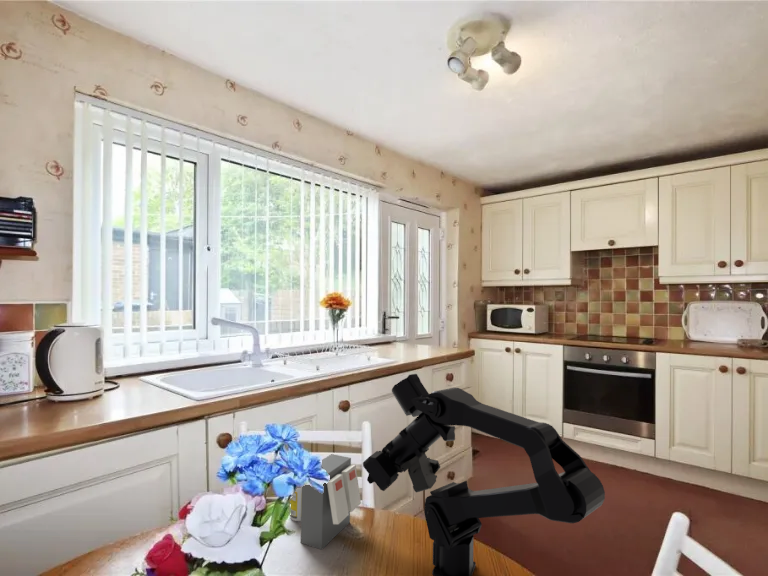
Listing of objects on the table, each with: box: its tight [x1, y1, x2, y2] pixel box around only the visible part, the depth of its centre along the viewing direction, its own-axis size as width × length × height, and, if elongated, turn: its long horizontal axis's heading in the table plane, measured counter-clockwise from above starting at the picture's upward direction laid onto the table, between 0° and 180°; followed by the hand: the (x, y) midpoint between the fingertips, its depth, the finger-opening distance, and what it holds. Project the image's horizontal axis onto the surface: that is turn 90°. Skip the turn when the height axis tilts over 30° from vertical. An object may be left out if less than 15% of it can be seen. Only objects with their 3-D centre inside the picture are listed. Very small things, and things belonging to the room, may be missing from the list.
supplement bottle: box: [289, 487, 302, 522], centre depth 93 cm, size 5×5×10 cm
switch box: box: [300, 453, 352, 550], centre depth 87 cm, size 5×11×14 cm, turn 155°
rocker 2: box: [342, 464, 362, 513], centre depth 87 cm, size 2×4×8 cm, turn 155°
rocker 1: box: [327, 474, 349, 524], centre depth 82 cm, size 2×4×8 cm, turn 155°
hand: (369, 481), depth 86 cm, fingers closed
